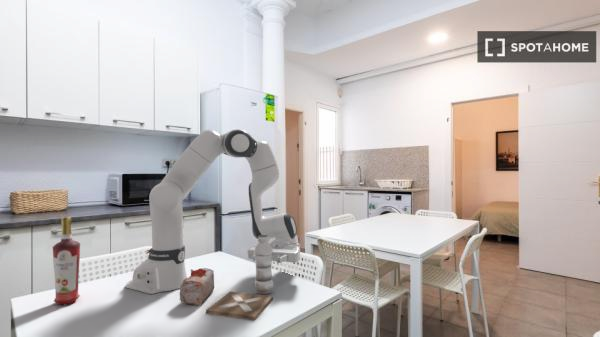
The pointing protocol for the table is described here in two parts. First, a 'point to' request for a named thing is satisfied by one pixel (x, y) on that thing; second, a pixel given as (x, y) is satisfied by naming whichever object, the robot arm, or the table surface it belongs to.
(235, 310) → the brown board with cross
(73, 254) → the liquor
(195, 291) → the food item
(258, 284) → the plastic bottle
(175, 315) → the table surface
